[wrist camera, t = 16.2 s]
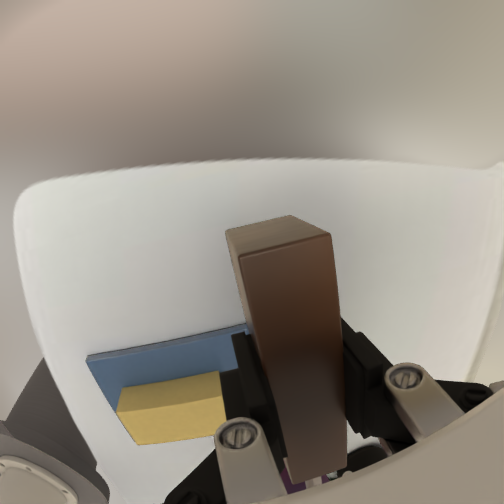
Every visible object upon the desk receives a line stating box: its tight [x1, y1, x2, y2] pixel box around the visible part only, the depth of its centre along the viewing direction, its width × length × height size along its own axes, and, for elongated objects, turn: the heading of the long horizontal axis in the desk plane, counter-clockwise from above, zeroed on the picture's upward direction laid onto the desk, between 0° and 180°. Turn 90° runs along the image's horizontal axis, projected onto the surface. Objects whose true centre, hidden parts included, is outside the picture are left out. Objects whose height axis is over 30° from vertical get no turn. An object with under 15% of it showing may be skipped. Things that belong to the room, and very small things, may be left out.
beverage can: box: [337, 446, 388, 478], centre depth 25 cm, size 7×7×12 cm
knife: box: [225, 215, 347, 489], centre depth 12 cm, size 2×19×4 cm, turn 11°
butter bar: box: [116, 371, 226, 445], centre depth 21 cm, size 8×4×3 cm, turn 101°
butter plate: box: [86, 323, 249, 442], centre depth 23 cm, size 18×10×1 cm, turn 101°
